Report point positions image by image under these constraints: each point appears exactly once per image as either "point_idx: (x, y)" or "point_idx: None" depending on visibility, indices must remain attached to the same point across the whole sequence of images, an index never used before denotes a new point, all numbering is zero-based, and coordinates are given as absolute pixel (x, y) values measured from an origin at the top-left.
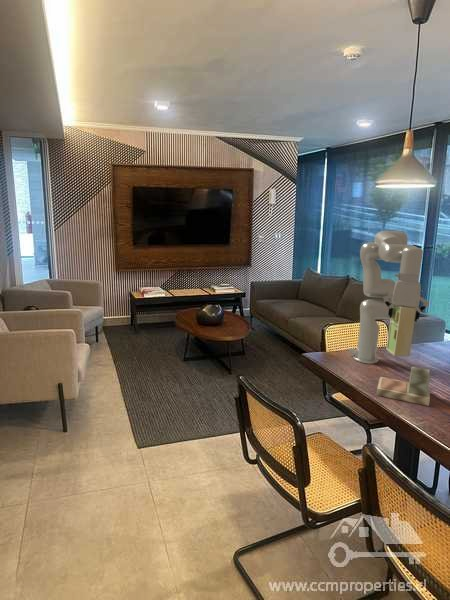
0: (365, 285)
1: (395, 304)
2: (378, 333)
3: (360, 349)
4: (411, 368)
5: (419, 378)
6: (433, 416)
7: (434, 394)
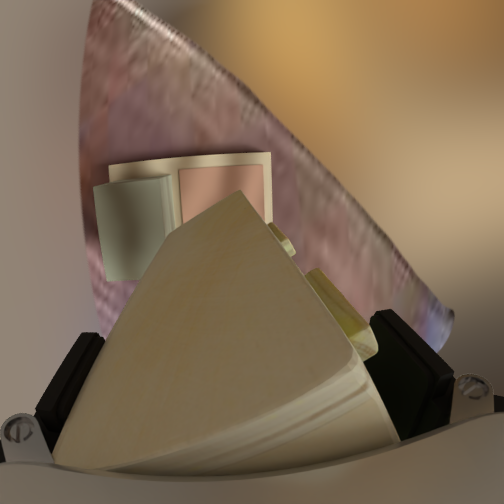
0: None
1: (479, 415)
2: None
3: None
4: None
5: (130, 181)
6: (103, 103)
7: None
